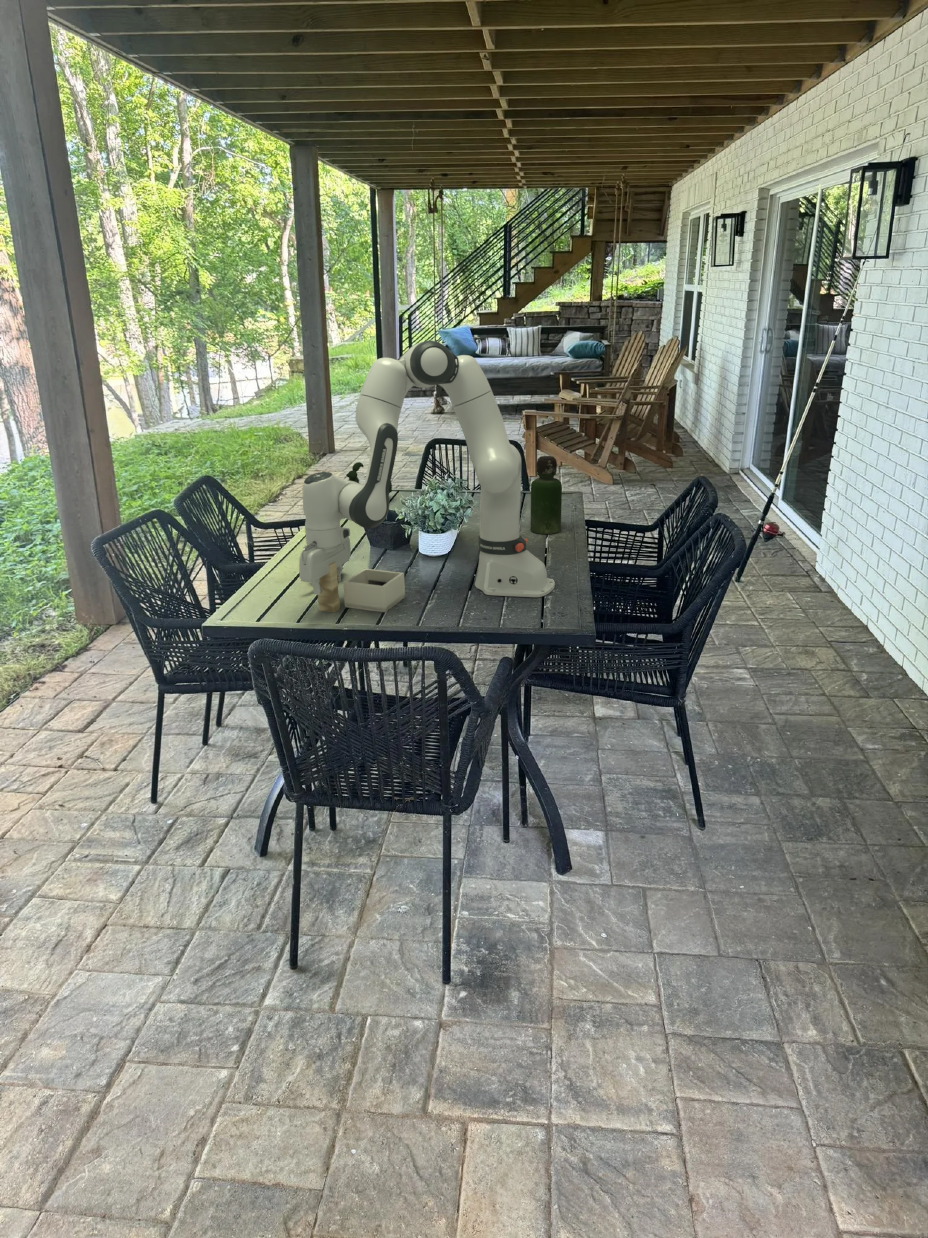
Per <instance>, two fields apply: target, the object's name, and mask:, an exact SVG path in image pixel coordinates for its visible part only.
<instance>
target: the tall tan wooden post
mask: <svg viewBox="0 0 928 1238" xmlns="http://www.w3.org/2000/svg"><path fill="white" fill-rule="evenodd" d="M319 585H320V586H321V587H322V591H323V592H322V593H321V594H319V595H317V601H318V611H320V612H325V613H326V612H328V613H335V612H337V611H338V610H340V595H339V594H340V593H339V582H338V580H337V568H336V562H333V563H332V564H330V565H329V573H328V574H326V575H324V576H323V577H321V578H320V582H319Z"/></svg>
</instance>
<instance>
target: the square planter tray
mask: <svg viewBox="0 0 928 1238" xmlns="http://www.w3.org/2000/svg"><path fill="white" fill-rule="evenodd" d="M368 580H378V581H386V582H387V583H386V584H384V585H383V586H380V585H372V584H368ZM405 583H406V582H405V572H398V571H390V570H383V569H382V570H380V569H373V568H372V569H371V568H363V569H362V570H360V571H359V572H356V573H355V574H353V575H352V576H351V577H348V578H347V579H346V580H344V581H343V583H342V584H343V586H342V587H343V598H344V608H351V609H357V610H364V611H372V612H381V613H387V611H389V610H391V609H392V608H393V607H395V606H396V605H397V604H398V603H400V602H401V601H402V600H404V599H406V588H405V585H406V584H405Z"/></svg>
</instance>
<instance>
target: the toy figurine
mask: <svg viewBox="0 0 928 1238" xmlns="http://www.w3.org/2000/svg"><path fill="white" fill-rule="evenodd" d="M364 467H365V466H364V464H363V463H362V462H360V461H359V462H355V463H354V464H353V465H352V470H350V471H349V472H348V473H346V475H345V476H346V478H348V480H349V481H354V482H357V483H360V479H359V477H358V473H357V472H358V471H359V470H360V469H361V468H364ZM392 491H393V484H392V481H391V482H390V488H389V494H390V493H392Z"/></svg>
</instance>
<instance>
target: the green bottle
mask: <svg viewBox="0 0 928 1238" xmlns="http://www.w3.org/2000/svg"><path fill="white" fill-rule="evenodd" d="M557 468H558V463H557V459H556V458H555V456H552V455H542V456H539V457H538V458H537V460H536V475H537V476H538V478H534V480H533V481H532V482H531V484H530V531H531V532H533V533H535V534H540V535H552V534H556V533H559V532H560V531H561V530H562V502H563V501H562V500H563V499H562V498H563V496H562V495H563V494H562V491H563V485H562V482H561V480H559V479H558V478H556V477H554V476H556V475H557V471H558V470H557Z"/></svg>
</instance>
